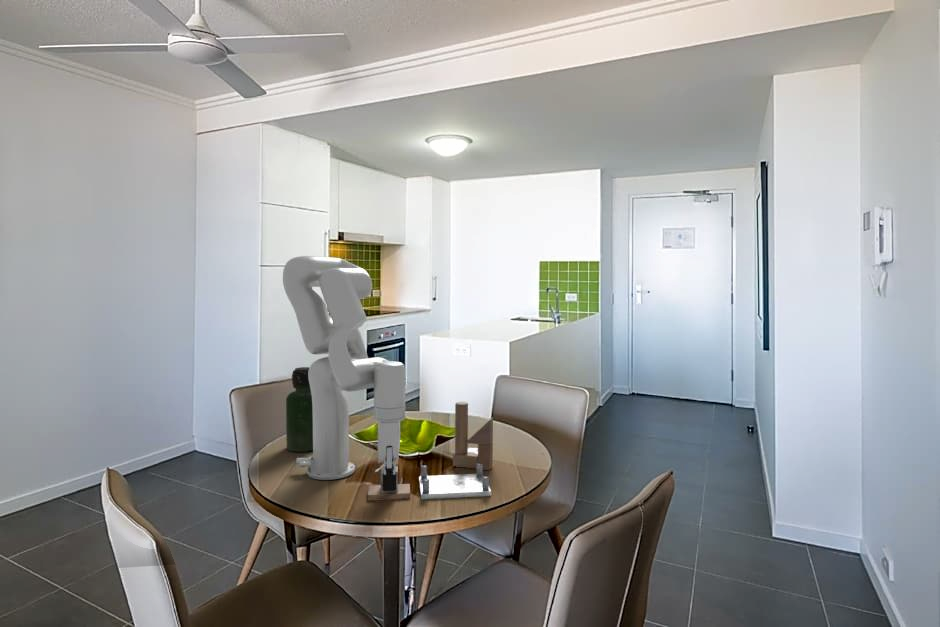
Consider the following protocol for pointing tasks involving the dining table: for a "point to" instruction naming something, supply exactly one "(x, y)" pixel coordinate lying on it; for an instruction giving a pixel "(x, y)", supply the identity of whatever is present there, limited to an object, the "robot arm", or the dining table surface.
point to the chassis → (454, 485)
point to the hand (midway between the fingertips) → (389, 485)
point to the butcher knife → (473, 450)
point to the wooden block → (472, 441)
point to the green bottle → (299, 413)
